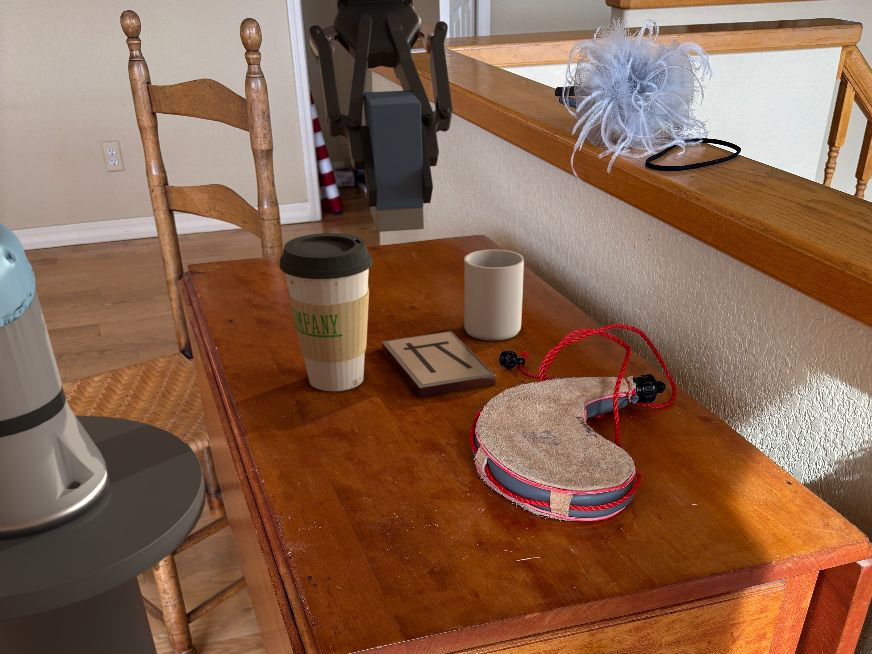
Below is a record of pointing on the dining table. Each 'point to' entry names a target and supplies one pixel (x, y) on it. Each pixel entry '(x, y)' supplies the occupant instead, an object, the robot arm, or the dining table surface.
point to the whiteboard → (437, 364)
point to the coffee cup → (329, 305)
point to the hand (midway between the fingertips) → (400, 196)
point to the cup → (493, 294)
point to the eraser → (396, 159)
